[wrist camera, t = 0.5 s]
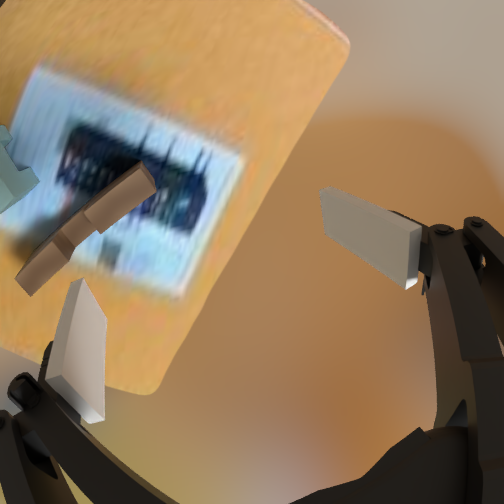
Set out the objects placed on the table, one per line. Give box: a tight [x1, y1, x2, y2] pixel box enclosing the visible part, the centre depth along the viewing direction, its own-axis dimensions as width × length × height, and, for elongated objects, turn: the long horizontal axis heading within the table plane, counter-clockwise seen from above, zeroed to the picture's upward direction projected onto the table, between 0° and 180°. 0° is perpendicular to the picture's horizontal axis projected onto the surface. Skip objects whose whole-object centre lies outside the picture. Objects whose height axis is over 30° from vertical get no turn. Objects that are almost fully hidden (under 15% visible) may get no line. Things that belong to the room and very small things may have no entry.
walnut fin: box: [15, 161, 156, 297], centre depth 31 cm, size 3×20×8 cm, turn 119°
